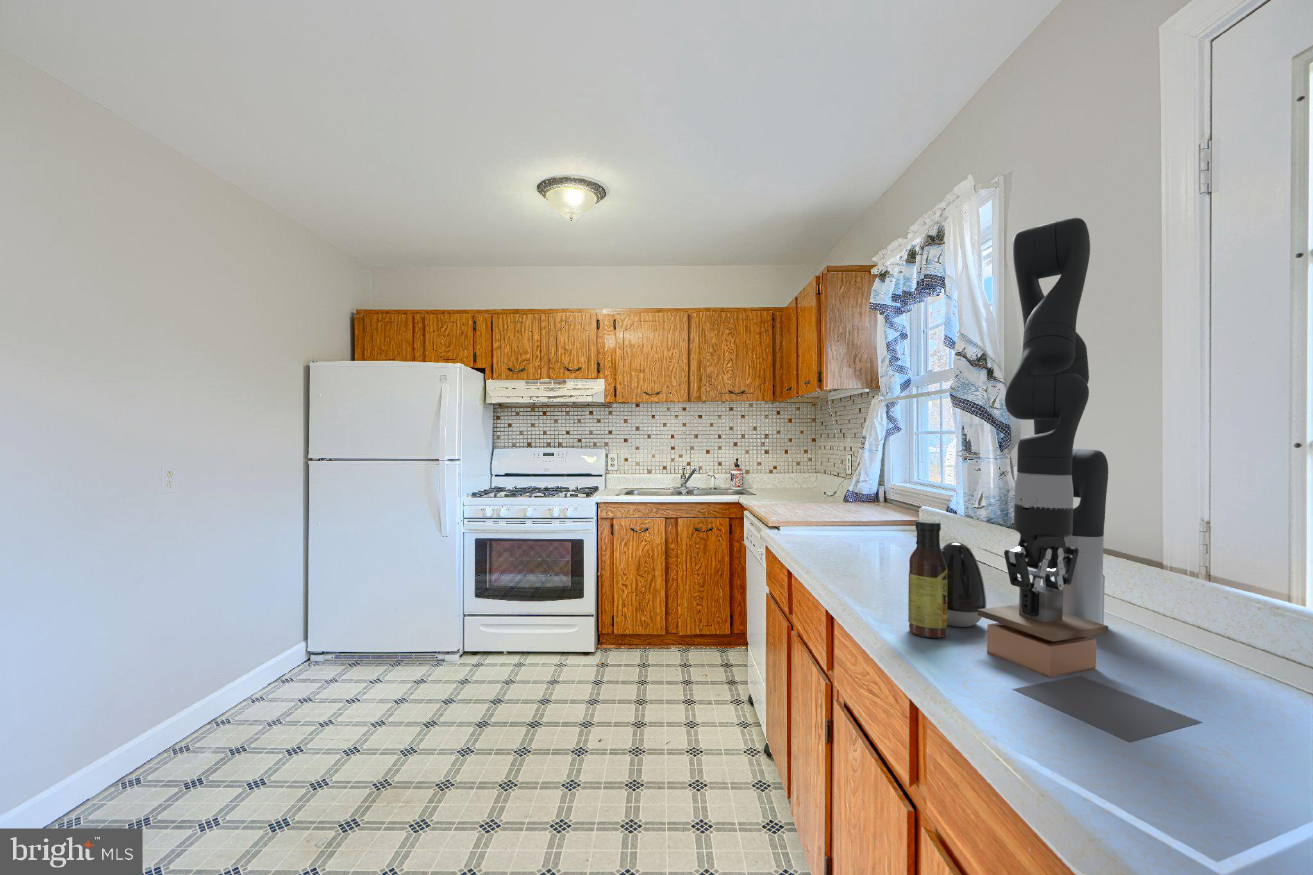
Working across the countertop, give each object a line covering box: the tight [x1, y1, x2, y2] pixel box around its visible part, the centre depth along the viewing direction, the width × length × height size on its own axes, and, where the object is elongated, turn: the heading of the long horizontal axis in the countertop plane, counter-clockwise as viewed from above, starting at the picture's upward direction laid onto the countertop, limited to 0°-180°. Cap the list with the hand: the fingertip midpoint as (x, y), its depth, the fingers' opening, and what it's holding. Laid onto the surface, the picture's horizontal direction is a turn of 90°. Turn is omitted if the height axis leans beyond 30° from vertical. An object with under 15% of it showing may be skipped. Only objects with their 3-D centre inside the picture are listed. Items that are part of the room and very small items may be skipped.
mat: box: [1012, 675, 1203, 743], centre depth 73 cm, size 14×14×1 cm
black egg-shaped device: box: [941, 541, 988, 628], centre depth 106 cm, size 10×10×15 cm
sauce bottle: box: [907, 519, 948, 639], centre depth 100 cm, size 7×6×20 cm
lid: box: [978, 584, 1109, 641], centre depth 87 cm, size 12×12×6 cm
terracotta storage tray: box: [986, 622, 1097, 679], centre depth 87 cm, size 10×10×5 cm
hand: (1040, 613), depth 87 cm, fingers closed on lid, 4 cm apart
